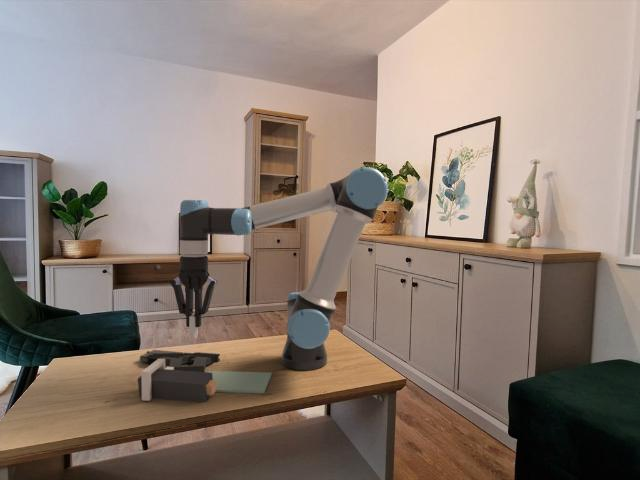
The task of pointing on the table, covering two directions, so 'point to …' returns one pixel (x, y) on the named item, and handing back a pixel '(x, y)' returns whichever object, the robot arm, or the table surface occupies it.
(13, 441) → the table surface
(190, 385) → the dark grey rectangular bar
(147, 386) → the white arch
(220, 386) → the mat
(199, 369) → the pistol
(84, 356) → the table surface
